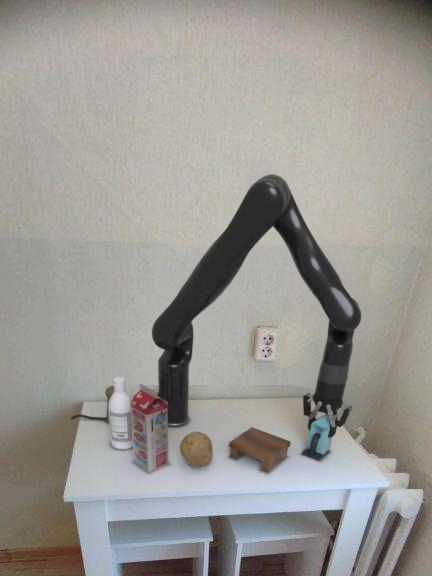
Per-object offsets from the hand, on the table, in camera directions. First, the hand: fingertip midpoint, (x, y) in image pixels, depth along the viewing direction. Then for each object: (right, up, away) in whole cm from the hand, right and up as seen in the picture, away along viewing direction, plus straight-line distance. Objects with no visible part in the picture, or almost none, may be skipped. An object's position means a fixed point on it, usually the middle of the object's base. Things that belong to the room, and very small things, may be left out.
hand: (320, 433), depth 133 cm
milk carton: (-48, -9, -6) cm, 49 cm away
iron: (+2, +1, +2) cm, 3 cm away
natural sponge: (-36, -9, -5) cm, 37 cm away
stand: (-18, -7, 0) cm, 19 cm away
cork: (-62, +5, +13) cm, 63 cm away
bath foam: (-57, -3, +2) cm, 57 cm away
